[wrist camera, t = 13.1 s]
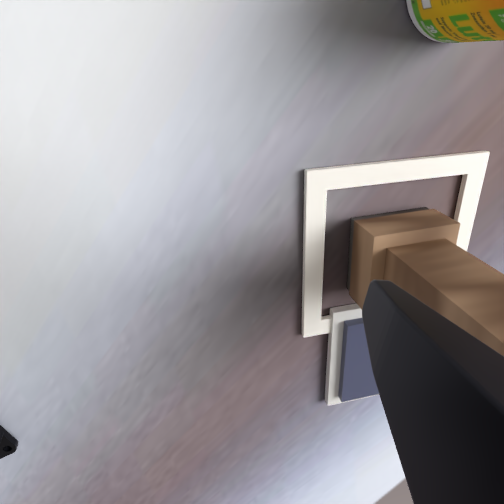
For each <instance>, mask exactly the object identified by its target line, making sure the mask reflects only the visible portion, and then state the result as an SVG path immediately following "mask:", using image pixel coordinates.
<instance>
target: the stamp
mask: <svg viewBox="0 0 504 504" xmlns="http://www.w3.org/2000/svg"><path fill="white" fill-rule="evenodd" d="M459 228H460V223H459V222H457V221H455V220H454V219H452V218H450V217H448V216H446V215H444V214H442V213H441V212H439V211H437V210H435V209H428V208H426V207H424V208H417V209H410V210H403V211H396V212H390V213H383V214H376V215H369V216H362V217H355V218H351V229H350V245H349V262H348V278H347V289H348V290H349V291H350V292H349V295H350V296H351V297H352V298H353V300H354V301H355V302H356V303H357V304H358V306H359V307H360V308H361V309H362V308H363V304H364V301H365V297H366V294H367V291H368V287H369V284H370V282H371V281H372V280H389V281H391V282H393V283H394V284H396V285H397V286H399V287H400V288H402V289H403V290H405V291H406V292H408V293H409V294H411V295H412V296H414V297H415V298H417V299H418V300H420V301H421V302H423V303H424V304H426V305H427V306H429V307H430V308H432V309H433V310H435V311H436V312H438V313H439V314H441V315H442V316H444V317H445V318H447V319H448V320H450V321H451V322H453V323H454V324H456V325H457V326H459V327H460V328H462V329H463V330H465V331H466V332H468V333H469V334H471V335H472V336H474V337H475V338H477V339H478V340H480V341H481V342H483V343H484V344H486V345H487V346H489V347H491V348H492V349H494V350H495V351H497V352H498V353H500V354H501V355H503V356H504V274H502V273H501V272H499V271H497V270H496V269H494V268H493V267H491V266H489V265H488V264H486V263H484V262H483V261H481V260H480V259H478V258H476V257H475V256H473V255H472V254H470V253H468V252H467V251H465V250H463V249H462V248H460V247H459V246H457V245H456V243H457V238H458V233H459Z"/></svg>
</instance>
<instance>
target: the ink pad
mask: <svg viewBox="0 0 504 504" xmlns="http://www.w3.org/2000/svg"><path fill="white" fill-rule="evenodd" d="M330 316H331V318H332V324H331V333H328V350H327V368H326V385H325V402H326V404H327V406H330V405H334V404H339V403H343V402H348V401H352V400H357V399H362V398H366V397H371V396H375V395H379V391H378V388H377V385H376V382H375V378H374V375H373V371H372V366H371V361H370V356H369V350H368V345H367V340H366V335H365V329H364V324H363V319H362V309H361V308H360V307H359V306H358V304H357V303H356V304H350V305H344V306H338V307H332V308H330Z"/></svg>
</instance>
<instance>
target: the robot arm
mask: <svg viewBox="0 0 504 504" xmlns="http://www.w3.org/2000/svg"><path fill="white" fill-rule="evenodd" d="M362 319H363V324H364V329H365V335H366V340H367V345H368V350H369V356H370V361H371V366H372V371H373V375H374V378H375V382H376V385H377V388H378V391H379V395H380V398H381V401H382V404H383V407H384V410H385V414H386V417H387V420H388V423H389V426H390V430H391V433H392V436H393V439H394V442H395V445H396V449H397V452H398V455H399V458H400V461H401V464H402V468H403V471H404V474H405V477H406V480H407V483H408V487H409V490H410V493H411V496H412V499H413V502H414V504H504V356H503V355H501V354H500V353H498V352H497V351H495V350H494V349H492V348H491V347H489V346H487V345H486V344H484V343H483V342H481V341H480V340H478V339H477V338H475V337H474V336H472V335H471V334H469V333H468V332H466V331H465V330H463V329H462V328H460V327H459V326H457V325H456V324H454V323H453V322H451V321H450V320H448V319H447V318H445V317H444V316H442V315H441V314H439V313H438V312H436V311H435V310H433V309H432V308H430V307H429V306H427V305H426V304H424V303H423V302H421V301H420V300H418V299H417V298H415V297H414V296H412V295H411V294H409V293H408V292H406V291H405V290H403V289H402V288H400V287H399V286H397V285H396V284H394V283H393V282H391V281H389V280H372V281H371V282H370V284H369V287H368V291H367V294H366V297H365V301H364V304H363V308H362ZM17 446H18V441H17V440H16V439H15V438H14V437H13V436H12V435H11V434H9V433H8V432H7V431H6V430H5V429H4V428H3V427H2V426H0V459H1V458H3V457H5V456H7V455H10V454H12V453H14V452H15V451H16V449H17Z"/></svg>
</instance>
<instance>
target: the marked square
mask: <svg viewBox="0 0 504 504" xmlns="http://www.w3.org/2000/svg"><path fill="white" fill-rule="evenodd" d="M489 154H490V152H488V151H476V152H466V153H456V154H447V155H437V156H428V157H418V158H409V159H399V160H389V161H380V162H370V163H361V164H351V165H342V166H332V167H322V168H313V169H305V170H304V227H303V283H302V336H303V338H305V337H310V336H315V335H321V334H326V333H331V324H332V318H331V316H330V315H326V316H321V309H322V287H323V265H324V243H325V221H326V199H327V190H332V189H341V188H350V187H358V186H367V185H376V184H384V183H393V182H402V181H410V180H419V179H428V178H436V177H445V176H454V175H462V174H463V176H462V181H461V186H460V191H459V195H458V200H457V205H456V210H455V215H454V220H455V221H457V222H459V223H460V228H459V233H458V238H457V243H456V245H457V246H459V247H460V248H462V249H463V250H465V251H467V248H468V244H469V240H470V235H471V231H472V227H473V223H474V218H475V214H476V210H477V205H478V201H479V197H480V192H481V188H482V184H483V180H484V175H485V171H486V167H487V162H488V158H489Z"/></svg>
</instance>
